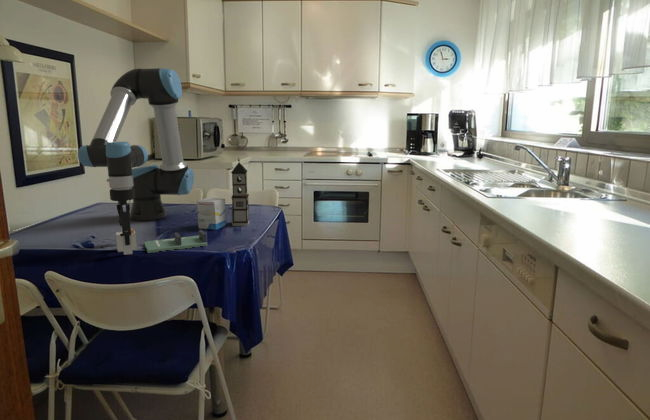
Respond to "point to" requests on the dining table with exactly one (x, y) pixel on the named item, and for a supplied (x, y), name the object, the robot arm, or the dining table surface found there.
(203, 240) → the board
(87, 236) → the dining table surface
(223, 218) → the ink box
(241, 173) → the miniature building
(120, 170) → the robot arm
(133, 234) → the plug
